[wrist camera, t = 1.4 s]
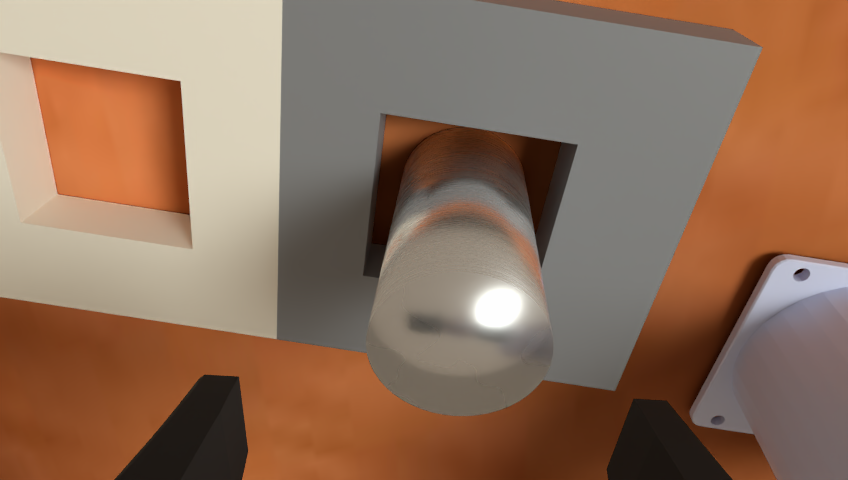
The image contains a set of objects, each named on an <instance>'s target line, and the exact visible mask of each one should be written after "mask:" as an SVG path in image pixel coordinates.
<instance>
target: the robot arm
mask: <svg viewBox="0 0 848 480" xmlns="http://www.w3.org/2000/svg"><path fill="white" fill-rule="evenodd" d="M802 268H804V270H803V271H802V272H801V273H799V274H796V275H793V274H794V273H795V272H796V271H797V270H799V269H802ZM689 414H690V417H691V419H692V422H693V423H694V424H695V425H698V426H703V427H709V428H716V429H722V430H729V431H735V432H742V433H749V434H754V435H755V437H756V439H757V441H758V443H759V445H760V447H761V449H762V451H763V453H764V455H765V457H766V459H767V461H768V463H769V465H770V467H771V469H772V471H773V473H774V475H775V477H776V479H777V480H848V264H847V263H841V262H834V261H828V260H822V259H815V258H809V257H802V256H796V255H790V254H783V255H779V256H776V257H775V258H773V259H772V260H771V261H770V262H769V263H768V265H767V266H766V268H765V270H764V272H763V274H762V276H761V278H760V280H759V281H758V283H757V285H756V287H755V289H754V291H753V293H752V295H751V296H750V298H749V300H748V302H747V304H746V306H745V308H744V309H743V311H742V313H741V315H740V317H739V319H738V321H737V323H736V324H735V326H734V328H733V330H732V332H731V334H730V336H729V338H728V339H727V341H726V343H725V345H724V347H723V349H722V351H721V353H720V354H719V356H718V358H717V360H716V362H715V364H714V366H713V368H712V369H711V371H710V373H709V375H708V377H707V379H706V381H705V383H704V384H703V386H702V388H701V390H700V392H699V394H698V396H697V398H696V399H695V401H694V403H693V405H692V407H691V409H690V412H689ZM715 416H717V417H715ZM247 454H248V446H247V438H246V431H245V423H244V415H243V407H242V399H241V391H240V383H239V377H235V376H217V375H204V376H202V377H201V378H200V379H199V380H198V381H197V382H196V383H195V385H194V386H193V387H192V389H191V390H190V391H189V392H188V394H187V395H186V396H185V397H184V399H183V400H182V401H181V402H180V404H179V405H178V406H177V407H176V409H175V410H174V411H173V412H172V414H171V415H170V416H169V417H168V419H167V420H166V421H165V422H164V423H163V425H162V426H161V427H160V428H159V429H158V431H157V432H156V433H155V434H154V435H153V436H152V438H151V439H150V440H149V441H148V442H147V443H146V445H145V446H144V447H143V448H142V449H141V450H140V451H139V453H138V454H137V455H136V456H135V457H134V458H133V459H132V460H131V462H130V463H129V464H128V465H127V466H126V467H125V468H124V469H123V471H122V472H121V473H120V474H119V475H118V476H117V477H116V478H115V480H242V477H243V472H244V468H245V463H246V458H247ZM607 474H608V480H732V479H731V477H730V476H729V475H728V474H727V473H726V472H725V470H724V469H723V468H722V467H721V466H720V464H719V463H718V462H717V461H716V460H715V458H714V457H713V456H712V455H711V454H710V452H709V451H708V450H707V449H706V448H705V447H704V445H703V444H702V443H701V442H700V440H699V439H698V438H697V437H696V436H695V434H694V433H693V432H692V431H691V430H690V428H689V427H688V426H687V425H686V424H685V422H684V421H683V420H682V419H681V418H680V416H679V415H678V414H677V413H676V412H675V410H674V409H673V408H672V407H671V406H670V404H669V403H668V402H667V401H662V400H644V399H634V400H633V402H632V405H631V407H630V410H629V413H628V415H627V418H626V420H625V423H624V426H623V428H622V431H621V433H620V436H619V439H618V441H617V444H616V447H615V449H614V452H613V454H612V457H611V460H610V462H609V465H608V467H607Z"/></svg>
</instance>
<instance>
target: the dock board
mask: <svg viewBox="0 0 848 480" xmlns="http://www.w3.org/2000/svg"><path fill="white" fill-rule="evenodd" d="M762 48H763V47H761V46H759V45H758V44H756V43H754V42H753V41H751V40H749V39H748V38H746V37H744V36H743V35H741V34H739V33H738V32H736V31H734V30H733V29H726V28H720V27H714V26H708V25H702V24H696V23H690V22H684V21H678V20H671V19H665V18H659V17H653V16H647V15H641V14H635V13H629V12H623V11H616V10H610V9H604V8H598V7H592V6H586V5H580V4H574V3H568V2H562V1H555V0H0V297H4V298H11V299H17V300H24V301H30V302H37V303H43V304H50V305H56V306H63V307H70V308H76V309H83V310H89V311H96V312H102V313H109V314H115V315H122V316H128V317H135V318H141V319H148V320H154V321H161V322H168V323H174V324H181V325H187V326H194V327H200V328H207V329H213V330H220V331H226V332H233V333H239V334H246V335H253V336H259V337H266V338H272V339H279V340H285V341H292V342H298V343H305V344H311V345H318V346H324V347H331V348H338V349H344V350H351V351H357V352H364V353H367V349H366V335H367V330H368V325H369V321H370V317H371V312H372V308H373V303H374V299H375V294H376V290H377V286H378V281H379V277H380V272H381V268H382V264H383V259H384V255H385V250H386V245H380V244H374V243H372V236H373V227H374V218H375V209H376V200H377V192H378V183H379V174H380V165H381V156H382V148H383V139H384V130H385V121H386V114H389V115H396V116H402V117H408V118H414V119H421V120H427V121H433V122H439V123H446V124H452V125H458V126H464V127H471V128H477V129H483V130H489V131H496V132H502V133H508V134H514V135H521V136H527V137H533V138H540V139H546V140H552V141H558V142H562V143H561V147H560V150H559V154H558V158H557V161H556V165H555V168H554V172H553V175H552V179H551V183H550V186H549V190H548V193H547V197H546V200H545V204H544V207H543V211H542V215H541V218H540V222H539V225H538V229H537V232H536V236H535V238H536V244H537V250H538V255H539V261H540V267H541V273H542V278H543V284H544V290H545V295H546V301H547V307H548V312H549V318H550V324H551V330H552V335H553V344H554V348H553V357H552V361H551V365H550V367H549V369H548V372H547V374H546V375H545V377H544V378H543V380H547V381H553V382H560V383H566V384H573V385H579V386H586V387H592V388H599V389H606V390H612V391H615V390H616V387H617V385H618V383H619V380H620V378H621V376H622V373H623V371H624V369H625V366H626V364H627V362H628V359H629V357H630V355H631V352H632V350H633V348H634V345H635V343H636V341H637V338H638V336H639V334H640V331H641V329H642V327H643V325H644V322H645V320H646V318H647V315H648V313H649V311H650V308H651V306H652V304H653V301H654V299H655V297H656V294H657V292H658V290H659V287H660V285H661V283H662V280H663V278H664V276H665V273H666V271H667V269H668V266H669V264H670V262H671V259H672V257H673V255H674V252H675V250H676V248H677V245H678V243H679V241H680V238H681V236H682V234H683V232H684V229H685V227H686V225H687V222H688V220H689V218H690V215H691V213H692V211H693V208H694V206H695V204H696V201H697V199H698V197H699V194H700V192H701V190H702V187H703V185H704V183H705V180H706V178H707V176H708V173H709V171H710V169H711V166H712V164H713V162H714V159H715V157H716V155H717V152H718V150H719V148H720V145H721V143H722V141H723V139H724V136H725V134H726V132H727V129H728V127H729V125H730V122H731V120H732V118H733V115H734V113H735V111H736V108H737V106H738V104H739V101H740V99H741V97H742V94H743V92H744V90H745V87H746V85H747V83H748V80H749V78H750V76H751V73H752V71H753V69H754V66H755V64H756V62H757V59H758V57H759V55H760V52H761V50H762ZM30 57H32V58H39V59H45V60H51V61H57V62H64V63H70V64H76V65H83V66H89V67H95V68H101V69H108V70H114V71H120V72H126V73H133V74H139V75H145V76H151V77H158V78H164V79H170V80H176V81H181V94H182V108H183V122H184V136H185V149H186V163H187V177H188V191H189V205H190V215H188V214H181V213H175V212H168V211H162V210H156V209H149V208H143V207H136V206H130V205H124V204H117V203H111V202H104V201H98V200H92V199H85V198H79V197H72V196H66V195H60V194H57V189H56V184H55V179H54V174H53V169H52V165H51V160H50V155H49V150H48V145H47V140H46V135H45V130H44V125H43V120H42V115H41V110H40V105H39V100H38V95H37V90H36V85H35V80H34V75H33V70H32V65H31V60H30Z"/></svg>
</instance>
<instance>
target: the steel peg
mask: <svg viewBox="0 0 848 480" xmlns="http://www.w3.org/2000/svg"><path fill="white" fill-rule="evenodd" d="M553 348H554V344H553V335H552V330H551V324H550V318H549V312H548V307H547V301H546V295H545V290H544V284H543V278H542V273H541V267H540V261H539V255H538V250H537V244H536V238H535V233H534V227H533V221H532V216H531V210H530V204H529V198H528V193H527V187H526V181H525V176H524V171H523V167H522V164H521V162H520V160H519V158H518V156H517V155H516V153H515V152H514V150H513V149H512V148H511V147H510V146H509V145H508V144H507V143H506V142H505V141H504V140H502V139H501V138H499V137H498V136H496V135H494V134H492V133H490V132H487V131H485V130H482V129H477V128H471V127H456V128H449V129H446V130H442V131H440V132H437V133H435V134H433V135H431V136H429V137H428V138H426V139H425V140H424V141H422V142H421V143H420V144H419V145H418V146H417V147H416V148H415V149H414V150H413V152H412V153H411V154H410V156H409V158H408V160H407V162H406V165H405V167H404V171H403V175H402V180H401V184H400V189H399V193H398V197H397V202H396V206H395V211H394V215H393V219H392V224H391V228H390V233H389V237H388V241H387V246H386V250H385V255H384V259H383V264H382V268H381V272H380V277H379V281H378V286H377V290H376V294H375V299H374V303H373V308H372V312H371V317H370V321H369V325H368V330H367V335H366V349H367V355H368V359H369V362H370V365H371V367H372V369H373V371H374V373H375V374H376V375H377V377H378V378H379V380H380V381H381V382H382V383H383V384H384V385H385V387H386V388H387V389H389V390H390V391H391V392H392V393H393V394H395V395H396V396H397V397H399V398H400V399H402V400H403V401H405V402H407V403H409V404H411V405H413V406H415V407H418V408H420V409H423V410H426V411H430V412H433V413H438V414H443V415H452V416H473V415H481V414H487V413H491V412H495V411H498V410H501V409H504V408H506V407H509V406H511V405H513V404H515V403H517V402H519V401H520V400H522V399H523V398H525V397H526V396H527V395H529V394H530V393H531V392H532V391H533V390H534V389H535V388H536V387H537V386H538V385H539V384H540V383H541V381H542V380H543V378H544V377H545V375H546V374H547V372H548V369H549V367H550V365H551V361H552V357H553Z"/></svg>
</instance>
